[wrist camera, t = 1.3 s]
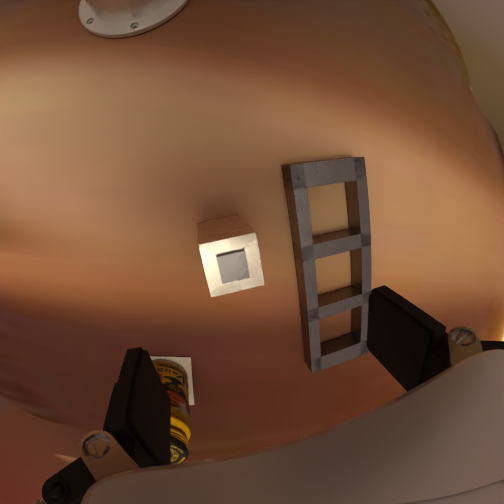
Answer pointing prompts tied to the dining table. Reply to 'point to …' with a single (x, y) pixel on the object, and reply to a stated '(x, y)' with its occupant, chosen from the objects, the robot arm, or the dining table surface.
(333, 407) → the dining table surface
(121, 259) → the dining table surface
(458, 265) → the dining table surface
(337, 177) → the grey flat rectangular frame
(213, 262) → the block
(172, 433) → the condiment
